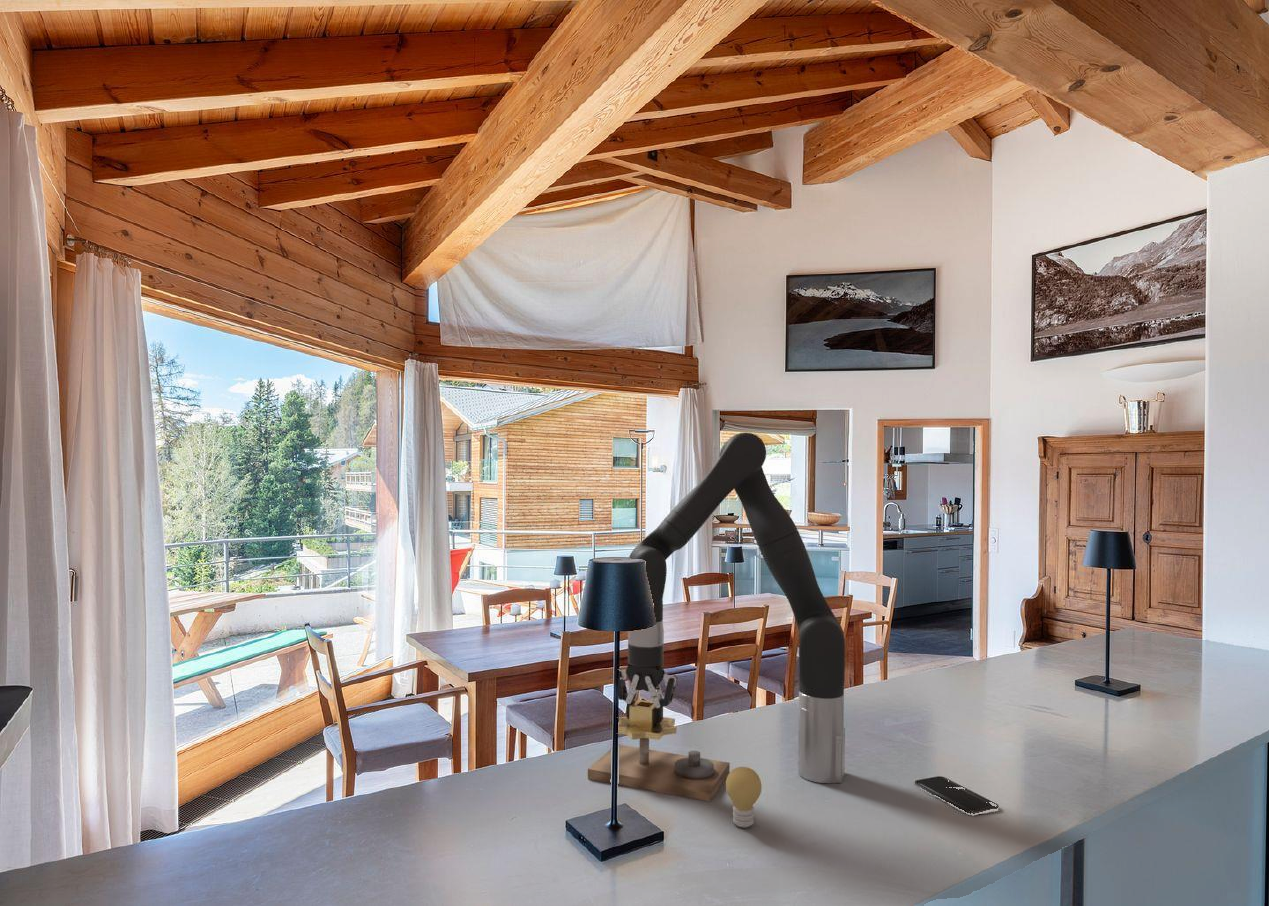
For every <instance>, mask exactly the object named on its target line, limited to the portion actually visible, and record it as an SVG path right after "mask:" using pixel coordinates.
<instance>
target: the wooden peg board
mask: <svg viewBox="0 0 1269 906" xmlns="http://www.w3.org/2000/svg"><path fill="white" fill-rule="evenodd" d="M618 745H619V785H620V786H625V787H630V788H636V789H640V790H645V791H651V792H656V793H662V794H667V795H672V796H674V795H675V796H678V797H683V798H688V799H689V798H690V799H693V800H694V799H695V800H701V801H704V802H711V801H712V799H713V797H715V795H716V793H717V792H718V791H719V789H720V787H721V786H722V784H723V782H725V781H726V780H725V779H727V777H728V775H729V773H730V763H731V762H727V761H721V760H716V759H714V760H713V759H709V758H703V757H701V752H700V751H698V750H689V751H688V755H684V754H678V753H674V752H666V751H661V750H654V749H650V738H640V739H639V747H637V746H636V747H635V746H629V745H625V744H624V745H623V744H618ZM611 749H612V748H610V749H609V750H608V751H607V752H606V753H604V754H603V755H602V756H601V757H600V758H599V759H597V760H596V761H595V762H594V763H593V764H592V765H590V767H588V768H587V780H593V781H597V782H602V783H609V784H611V783H610V779H611Z"/></svg>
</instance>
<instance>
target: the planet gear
mask: <svg viewBox="0 0 1269 906" xmlns="http://www.w3.org/2000/svg"><path fill="white" fill-rule="evenodd" d="M654 708H655V705H654V701H650V700H644V699H637V700H636V701H635V703H633V704H632V705H631V706H630V710H629V719H628V718H627V715H625V716H620V717H619V722H618V733H617V734H620V735H626V736H627V737H628V738H630V739H631V741H632V740H640V738H649V740H650V739H651V740H657V741H659V740H661V738H662V737H663V736H668V735H673V734H674V735H675V734H677V732H678V731H677V729H678V728H677V726H675V725H676V724H675V722H676V718H673V717H666V716H663V720H662V722H661V723H660V724H659V725H658V726H656V725H654Z"/></svg>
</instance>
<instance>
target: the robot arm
mask: <svg viewBox="0 0 1269 906" xmlns="http://www.w3.org/2000/svg"><path fill="white" fill-rule="evenodd" d="M766 448H767V447H766V444H765V443H764V440H762V438H761V437H759V436H758V435H757V434H754V433H752V432H740V433H737V434H735V435H733V436H731V437H730V438H729V439H728V440H726V442H724V444H723V445H722V447H721V449H720V451H719V457H718V459H717V461H716V462H715V464H714V465H713V467H711V469H710V471H708V473H707V474H706V475H705V476H704V477H703V478H702V480H700V482H699V483H698V484H697V485H696V486H695V487H693V488H692V489H691V490H690V492H688V494H686V495H685V496H684V497H683V498H682V499H681V500H680V502H679V503H677V504H676V505H675V507H673V509H671V511H670V512H669V513H668V515H666V517H664V519H663V520H662V521H661V522H660V523H659V525H658V526H657V527H656V528H655V529H654V530H653V531H651V532H650V533H649V534H648V535H647V536H646V537H645V538H643V540H641V541H640V542H639V543H638V544H637V545H636V546H635V547H634V549H633V550H632V551H631V552H630V553H629V557H628V559H629V558H631V559H643V560H645V561H646V572H647V577H648V581H649V585H650V590H651V594H652V599H653V603H654V613H655V617H656V622H657V624H656V625H655V626H653V627H650V628H647V629H641V630H634V631H628V630H627V631H628V632H627V667H626V668H625V669H622V668H618V670H619V679H618V694H617V698H618V700H619V701H624V702H625V703H626V716H627V718H628V719H629V710H630V706H631V705H632V704H633V703H635V702H636V701H635V700H636V698H637V695H638V693H639V691H645V692H649V695H650V698H652V700H653V701H652V702H654V705H655V708H654V725H656V726H658V725H659V724H660V723H661V722H662V720H663V717H664V707H667V706H669V705H670V704H671V703H672V702H673V699H674V695H675V690H676V687H677V684H678V683H677V681H678V676H677V675H672V676H671V675H670V674H666V671H665V670H664V649H665V647H664V645H665V644H664V642H665V641H664V640H665V639H664V638H665V637H664V634H665V631H664V621H663V620H664V616H663V615H664V604H663V603H664V601H663V598H664V594H665V587H666V583H667V573H668V572H667V571H668V570H667V567H668V565H667V560H668V559H669V558H670V556H671V555H672V554H673V553H675V552H676V551H679V550H681V549H683V548H684V547H685V546H686V545H687V544H688V542H690V540H691V539H692V538H693V537H694V536H695V535H696V533H697V532H699V530H700V529H701V528H702V526H703V525H704V524H705V523H706V521H707V520H709V518H710V517H711V515H713V513H714V512H715V511H716V509H717V508H718V507H719V506H720V504H722V502H723V501H724V499H726V498H727V497H728V495H730V494H731V493H732V492H733V490H734V492H735V493H736V495H737V496H738V499H739V501H740V503H741V505H742V507H743V510H744V513H745V516H746V518H747V522H748V524H749V527H750V530H751V531H752V534H753V537H754V540H755V542H756V544H757V546H758V549H759V552H760V554H761V556H762V558H763V561H764V562H765V565H766V567H767V569H768V570H769V573H770V574H771V575H772V577H773V579H774V581H776V583H777V585H778V586H779V587H780V590H782V592H783V593H784V595H785V597H786V599H787V602H788V603H789V606H790V609H791V611H792V614H793V616H794V620H795V623H796V626H797V629H798V633H799V635H798V636H799V637H798V741H797V742H798V753H797V754H798V761H797V764H798V765H797V767H798V768H797V770H798V771H797V773H798V774H799V776H800V777H802V778H804V779H806V780H808V781H809V782H810V781H811V782H815V783H818V784H819V783H820V784H834V783H837V784H838V783H839V784H842V783H843V779H844V778H845V777H844V776H845V772H846V770H845V767H846V765H845V763H846V753H845V752H846V746H845V745H846V728H845V727H844V722H845V719H844V717H845V716H844V715H845V706H844V705H845V681H846V679H845V678H846V677H845V671H846V670H845V668H846V665H845V664H846V663H845V662H846V643H845V642H846V639H845V635H844V630H843V628H842V627H843V626H842V625H841V624H840V622H839V620H838V619H837V617H836V616H835V614H834V613H833V610H832V609H831V607H830V606H829V604H828V602H827V600H826V598H825V596H824V595H823V592H822V591H821V589H820V585H819V583H818V581H817V577H816V574H815V570H814V568H813V564H812V562H811V559H810V557H809V556H810V555H809V553H808V550H807V548H806V545H805V543H804V541H803V538H802V536H801V534H800V532H799V530H798V528H797V526H796V524H795V522H794V521H793V519H792V517H791V516H790V514H789V513H788V511H787V510H786V508H784V506H783V505H782V504H781V502H780V501H779V500H778V499H777V497H776V496H775V494H774V493H773V491H772V489H771V487H770V485H769V483H768V479H767V477H766V475H765V473H764V470H763V465H764V463H765V460H766V458H767V449H766ZM627 678H628V680H629V682H630V687H629V689H627V684H626V679H627ZM662 681H664V685H665V686H666V689H665V693H664V697H663V693H662V692H663V691H662V687H661V685H660V684H661V682H662Z"/></svg>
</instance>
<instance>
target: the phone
mask: <svg viewBox="0 0 1269 906" xmlns="http://www.w3.org/2000/svg"><path fill="white" fill-rule="evenodd" d="M948 780H949V782H948ZM915 785H916V786H918V787H921V788H922V789H924V790H926V791H927V792H929V793H931V794H932V795H936V796H938V797H940V798H941V799H943V800H945V801H946V802H949V803H951V804H953V805H954V806H956V807H958V808H959V809H962V810H964V811H965V812H967V813H970V814H971V813H973V814H975V813H979V812H983V811H986V810H990V809H997V808H998V807H999V808H1000V806H999V804H998V803H996V802H994V801H991V800H990V799H988V798H986V797H984V796H982V795H980V794H978V793H977V792H974V791H972V790H971V789H968V788H966V787H964V786H963V785H961V784H959V783H958V782H957V783H956V782H955V781H953V780H951V779H949V778H947V777H945V776H941V775H937V776H933V777H927V778H921V779H917V780H915V781H914V786H915ZM916 786H915V787H916ZM918 787H917V788H918ZM946 787H947V788H946ZM949 787H952V788H949ZM953 787H963V788H965V790H964V789H959V790H958V789H956V788H953ZM927 792H926V793H927ZM932 795H931V796H932ZM986 802H987V803H986ZM989 802H992V803H994V804H996V805H997V806H996V807H995V806H992V805H991V804H990V803H989Z"/></svg>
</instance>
